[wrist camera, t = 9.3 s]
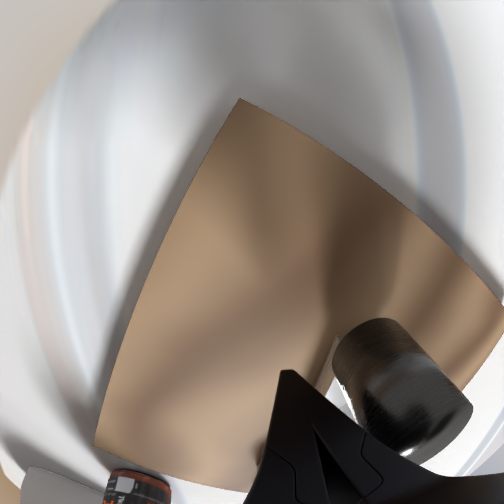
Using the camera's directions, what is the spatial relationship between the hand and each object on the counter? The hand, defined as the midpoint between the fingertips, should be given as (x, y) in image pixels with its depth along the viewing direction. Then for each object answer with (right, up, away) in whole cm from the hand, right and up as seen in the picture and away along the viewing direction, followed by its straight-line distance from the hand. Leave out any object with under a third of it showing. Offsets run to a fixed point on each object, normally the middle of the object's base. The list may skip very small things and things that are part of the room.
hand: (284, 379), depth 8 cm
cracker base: (+3, -5, +6) cm, 8 cm away
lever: (+2, -6, +5) cm, 8 cm away
